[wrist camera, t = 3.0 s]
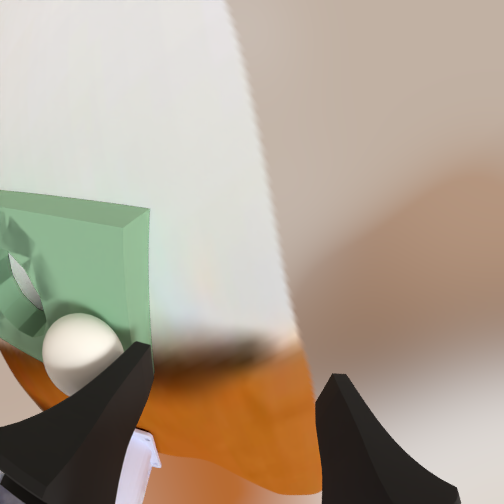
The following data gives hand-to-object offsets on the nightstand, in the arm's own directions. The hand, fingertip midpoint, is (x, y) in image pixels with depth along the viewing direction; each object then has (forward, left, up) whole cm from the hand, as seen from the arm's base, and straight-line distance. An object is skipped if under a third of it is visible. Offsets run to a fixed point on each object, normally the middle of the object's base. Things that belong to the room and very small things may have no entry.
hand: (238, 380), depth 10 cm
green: (0, +11, -3) cm, 11 cm away
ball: (0, +6, +1) cm, 6 cm away
